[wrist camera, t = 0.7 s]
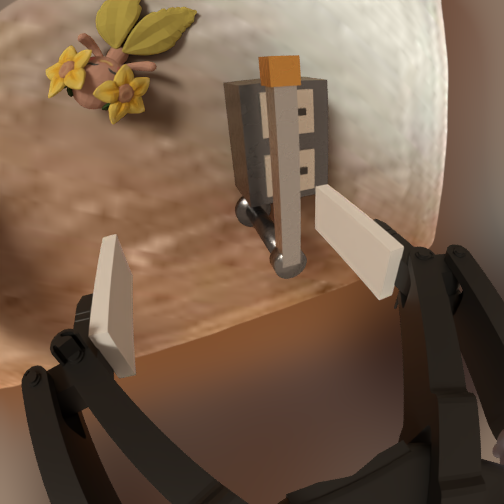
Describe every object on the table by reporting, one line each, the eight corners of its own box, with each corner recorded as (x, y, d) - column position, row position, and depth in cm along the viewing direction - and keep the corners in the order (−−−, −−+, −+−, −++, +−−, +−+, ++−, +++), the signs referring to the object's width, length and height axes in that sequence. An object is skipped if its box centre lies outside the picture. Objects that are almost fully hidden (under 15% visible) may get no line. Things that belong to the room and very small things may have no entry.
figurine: (206, 15, 27) (160, 89, 21) (170, 63, 34) (127, 145, 29) (116, -26, 20) (36, 39, 15) (93, 29, 27) (29, 105, 22)
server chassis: (235, 185, 41) (252, 209, 35) (223, 82, 32) (239, 85, 27) (303, 172, 43) (329, 193, 37) (299, 76, 34) (329, 80, 29)
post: (237, 227, 44) (261, 272, 36) (233, 196, 42) (258, 237, 33) (269, 219, 45) (301, 262, 37) (267, 189, 42) (301, 226, 34)
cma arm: (269, 270, 35) (277, 283, 33) (252, 57, 22) (262, 56, 20) (298, 262, 36) (307, 275, 34) (292, 55, 22) (304, 55, 20)
